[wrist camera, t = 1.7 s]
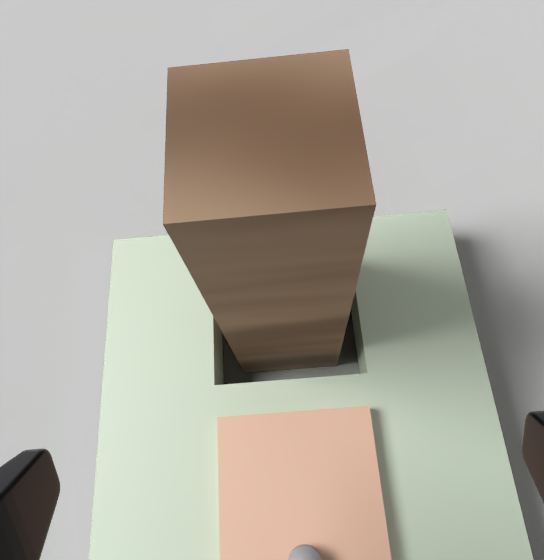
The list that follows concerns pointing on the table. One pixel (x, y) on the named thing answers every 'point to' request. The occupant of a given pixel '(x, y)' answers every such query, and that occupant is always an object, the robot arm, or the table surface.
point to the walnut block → (270, 201)
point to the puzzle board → (303, 423)
